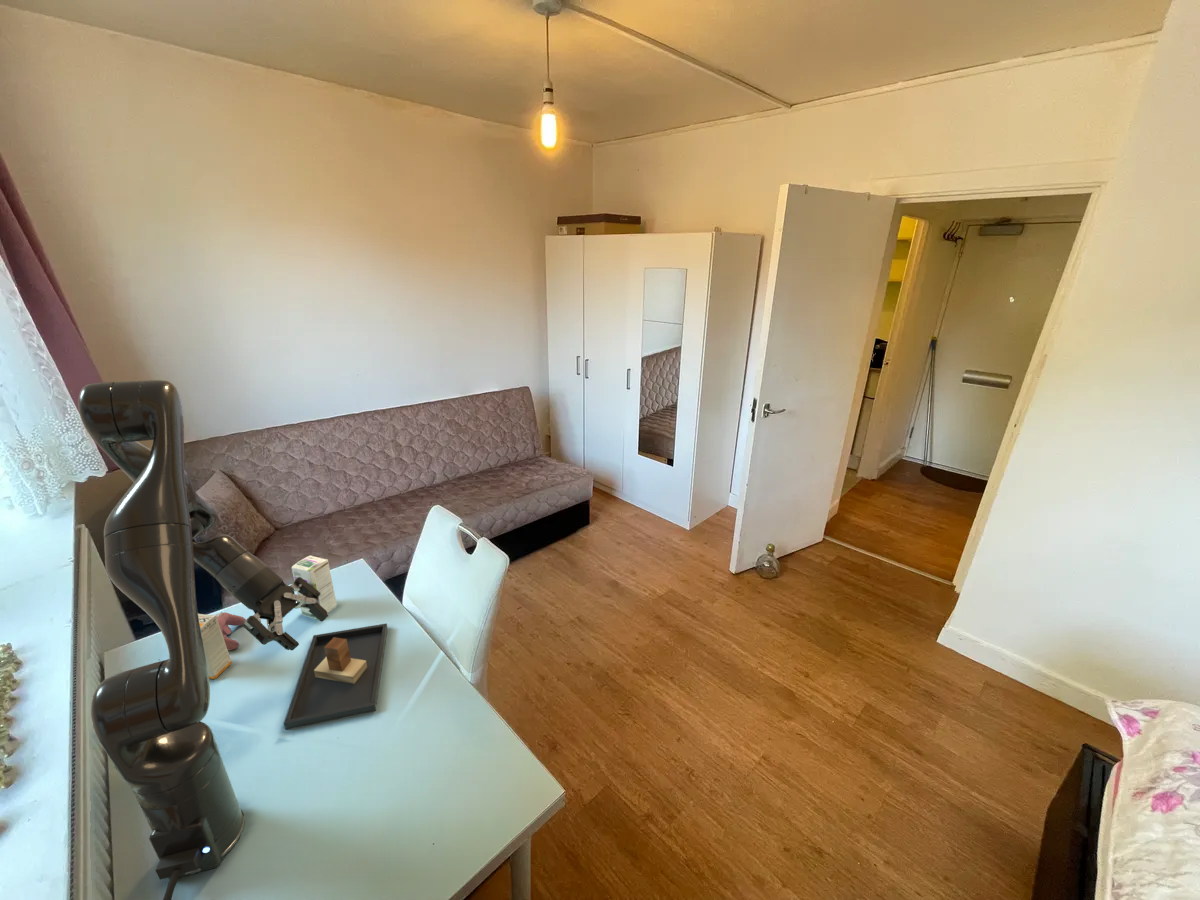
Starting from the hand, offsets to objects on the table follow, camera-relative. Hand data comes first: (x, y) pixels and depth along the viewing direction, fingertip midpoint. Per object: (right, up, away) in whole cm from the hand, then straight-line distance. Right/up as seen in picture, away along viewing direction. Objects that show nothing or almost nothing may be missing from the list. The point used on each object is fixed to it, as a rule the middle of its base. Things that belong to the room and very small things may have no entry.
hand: (311, 632), depth 101 cm
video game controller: (-26, -6, +12) cm, 29 cm away
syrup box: (-10, -3, +21) cm, 24 cm away
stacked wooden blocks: (+5, -10, +3) cm, 11 cm away
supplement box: (-24, -9, +3) cm, 26 cm away
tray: (+5, -10, +3) cm, 12 cm away
